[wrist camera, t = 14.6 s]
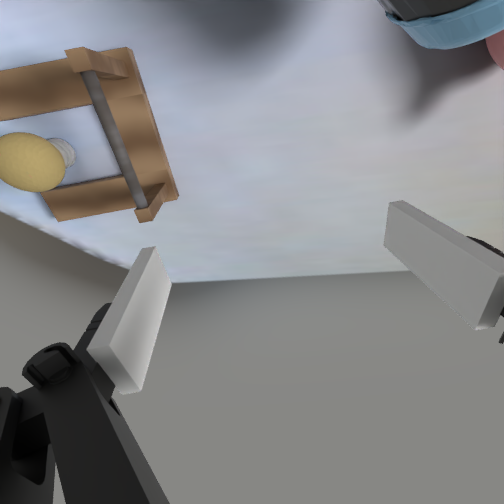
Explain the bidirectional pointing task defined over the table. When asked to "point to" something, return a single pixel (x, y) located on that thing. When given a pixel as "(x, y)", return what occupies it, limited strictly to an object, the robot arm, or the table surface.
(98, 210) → the wooden rack frame
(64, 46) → the table surface
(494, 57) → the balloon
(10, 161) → the light bulb
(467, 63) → the table surface
